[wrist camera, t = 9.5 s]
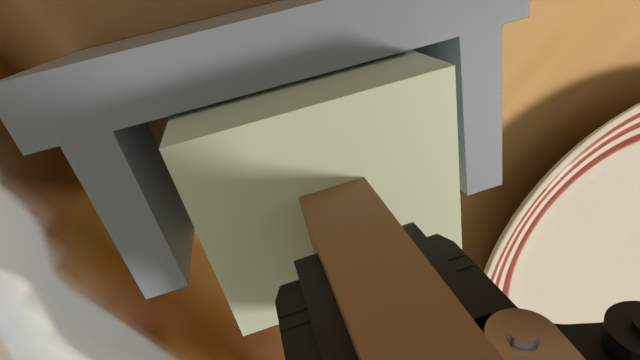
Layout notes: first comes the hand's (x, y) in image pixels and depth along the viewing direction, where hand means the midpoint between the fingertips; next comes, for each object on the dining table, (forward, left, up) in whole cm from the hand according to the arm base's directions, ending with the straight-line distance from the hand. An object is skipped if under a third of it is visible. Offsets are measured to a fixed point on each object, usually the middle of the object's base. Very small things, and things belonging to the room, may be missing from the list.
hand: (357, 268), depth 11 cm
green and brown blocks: (0, -1, -8) cm, 8 cm away
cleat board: (0, -3, -12) cm, 12 cm away
